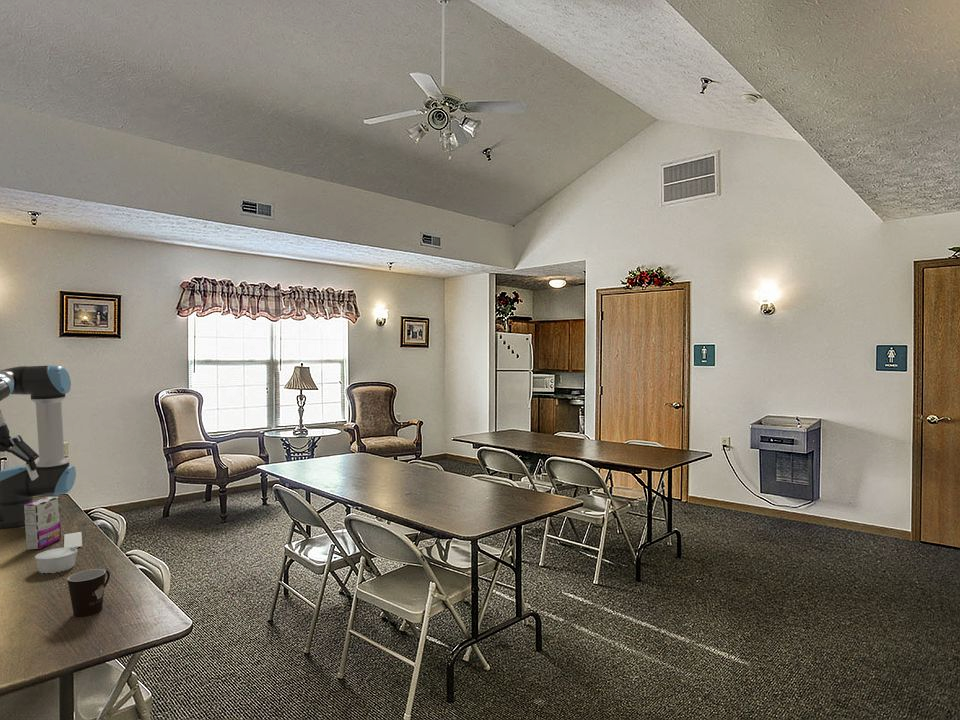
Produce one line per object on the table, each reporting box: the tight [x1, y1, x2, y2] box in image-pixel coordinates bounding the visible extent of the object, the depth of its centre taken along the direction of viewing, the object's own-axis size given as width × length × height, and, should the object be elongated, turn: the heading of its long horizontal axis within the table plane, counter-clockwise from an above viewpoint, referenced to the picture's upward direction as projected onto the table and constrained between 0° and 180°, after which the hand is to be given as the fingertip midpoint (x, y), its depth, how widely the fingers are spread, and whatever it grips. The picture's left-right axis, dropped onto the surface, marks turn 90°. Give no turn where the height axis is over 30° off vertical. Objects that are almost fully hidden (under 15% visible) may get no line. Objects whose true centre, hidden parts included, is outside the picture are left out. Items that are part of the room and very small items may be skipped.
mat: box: [63, 531, 83, 549], centre depth 218 cm, size 20×5×1 cm, turn 35°
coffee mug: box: [66, 568, 111, 618], centre depth 160 cm, size 12×9×10 cm
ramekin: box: [34, 546, 78, 575], centre depth 191 cm, size 11×11×5 cm
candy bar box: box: [24, 496, 62, 550], centre depth 214 cm, size 11×5×16 cm, turn 179°
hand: (15, 481), depth 206 cm, fingers open, 13 cm apart
